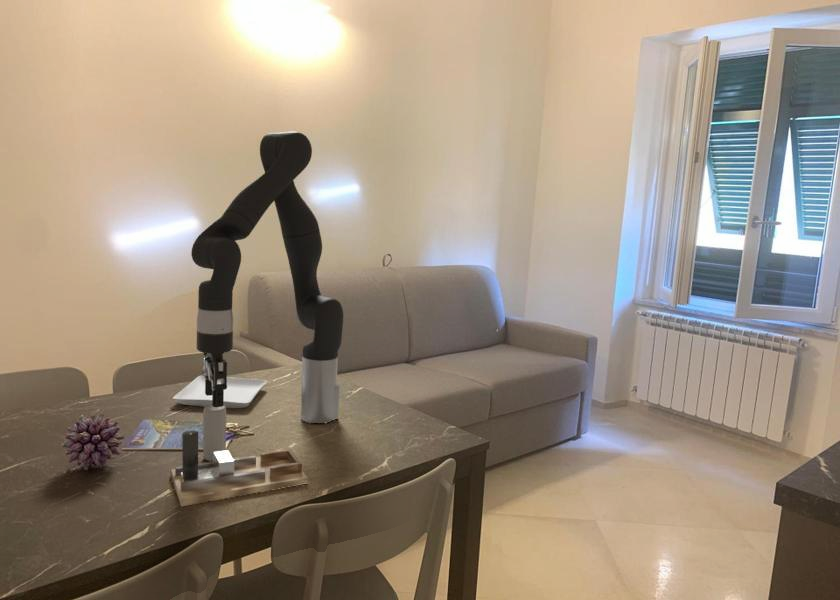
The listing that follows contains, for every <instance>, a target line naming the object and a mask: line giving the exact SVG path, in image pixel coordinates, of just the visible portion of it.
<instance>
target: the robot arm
mask: <svg viewBox="0 0 840 600" xmlns="http://www.w3.org/2000/svg"><path fill="white" fill-rule="evenodd" d="M312 154H313V148H312V144H311V142H310V139H309V138H308V137H307V135H305V134H304V133H302V132H298V131H281V132H270V133H267V134H265V135H264V136H263V137H262V139H261V140H260V144H259V155H260V161H261V165H262V168H263V170H264V173H263V174H262V175H260V177H258V178H257V179H256V180H254V181H253V182H251V183H250V184H248V185H247V186H245V188H244V189H242V190H241V191H240V192H239V193H238V194H237V195H236V196H235V197H234V199H233V200H232V201H231V202H230V204H229V205H228V207H227V208H226V209H225V211H224V213H223V214H222V215H221V217H219V218H218V219H217V220H215V221H214V222H213V223H211V224H210V225H209V226H208V227H207V228H205V229H204V230H203V231H202V232H201V233H200V234H199V235H198V236H197V238H195V240H194V242H193V244H192V246H191V258H192V261H193V262H194V264H195V265H196V266H197V267H200V268H203V269H208V270H213V271H212V273H211V274H212V275H211V277H210V279H209V280H207V279H206V280H204V281H202V282H201V283H200V284H199V285H198V298H197V299H198V300H197V301H198V305H197V307H198V308H197V310H198V312H197V316H196V350H197V351H198V352H200V353H203V354H202V357H203V358H202V374H203V376H204V378H207V379H205V394H206V395H207V396H209V395H212V405H213V407H222V406H223V400H224V390H225V389H227V377H228V376H227V374H228V373H227V371H228V363H227V361H226V359H225V358H224V357H223V355H224V354H225V353H229V352H231V351H232V350H233V346H234V345H233V344H234V314H233V313H234V312H233V291H234V290H233V289H234V287H235V285H236V282H237V281H236V280H237V277H238V274H239V270H240V267H241V262H242V252H241V248H240V245H239V244H238V242H237V241H241V240H245V239H247V238H248V237H249V235H251V233H252V231H253V230H254V228H256V226H257V225H258V223H259V221H260V220H261V218H262V217H264V214H265V212H267V210H268V209H269V207H270V206H271V205H272V204H273V203H274V206H275V209H276V213H277V218H278V221H279V225H280V231H281V236H282V240H283V244H284V250H285V252H286V256H287V260H288V265H289V270H290V274H291V277H292V278H291V280H292V286H293V292H294V301H295V309H296V313H297V314H296V315H297V317H298V320H299V322H300V324H301V325H302V326H303V327H305V328H306V329H309V330H313V332H314V333H313V340H312V342H311V341H310V342H307V343H305V344H304V345H303V347H302V357H301V358H302V359H301V360H302V362H301V363H302V364H301V391H300V393H301V398H300V399H301V401H300V403H301V404H300V420H301V419H302V420H303V422H304V421H305V423H307V422H308V423H307V424H311V423H325V422H329V421H332V420H333V419H336V418H338V419H339V405H340V404H339V403H340V385H339V384H338V363H339V362H338V356H339V350H340V348H341V346H342V345H341V344H342V337H343V328H344V325H343V324H344V310H343V309H344V308H343V306H342V304H341V302H340V301H339V300H338V299H335V298H333V297H329V296H324V295H322V294H321V291H320V288H319V281H318V275H317V272H318V266H319V263H320V260H321V257H322V253H323V241H322V236H321V231H320V226H319V222H318V220H317V219H318V218H316V216H315V214H314V212H313V211H312V209H311V208H310V207H309V205H308V204H307V203H306V202H305V200H304V199H303V197H302V195H300V193H299V192H298V191H299V190H298V189H297V187H296V183H295V181H294V180H295V179H296V178H297V177H298V176H299V175H300V174H302V172H303V171H305V169H306V168H307V167H308V165H309V164H310V161H311V159H312ZM218 380H220V381H221V384H217V381H218ZM302 420H301V421H302ZM332 422H333V421H332ZM325 424H326V423H325Z"/></svg>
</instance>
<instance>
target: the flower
mask: <svg viewBox="0 0 840 600" xmlns="http://www.w3.org/2000/svg"><path fill="white" fill-rule="evenodd" d="M78 419H79V420H76V421H75V424H74V425H73V427H70V426H67V427H66V428H65V430H67V432H69V433H65V436H64V437H65V439H66V441H65V442H62V443H60V445H61V448H67V450H66V451H65V455H66V456H68V455H70V457H69V458H68V459H67V461H68V463H72V462H75V461H77V462H76V465H78V466H80V465H82V464H83V466H84V467H83V470H85V471H88V470H89V467H90V466H91V465H93V468H97V467H98V464H100V465H101V466H102V467H103V468H105V467H107V466H108V464H107V460H108V461H109V460H113V459H115V456H114V455H117V456H120V454H121V452H120V451H119V450H118V449H117V448H119V447H120V446H121V445H122V444H123V443H122V441H121V440H125V435H121V434H118V432H119V431H121V429H122V428H121V426H120V425H119V426H117V425H118V424H119V423H120V422H119V420H115V421H113V422H110V419H111V417H110V416H107V417H106V418H105V414H104V412H100V413H99V415H97V417H96V415H95V413H92V414H91V415H90V417H89V418H87V417H85V416H84V415H83V414H81V415H79V416H78Z"/></svg>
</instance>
